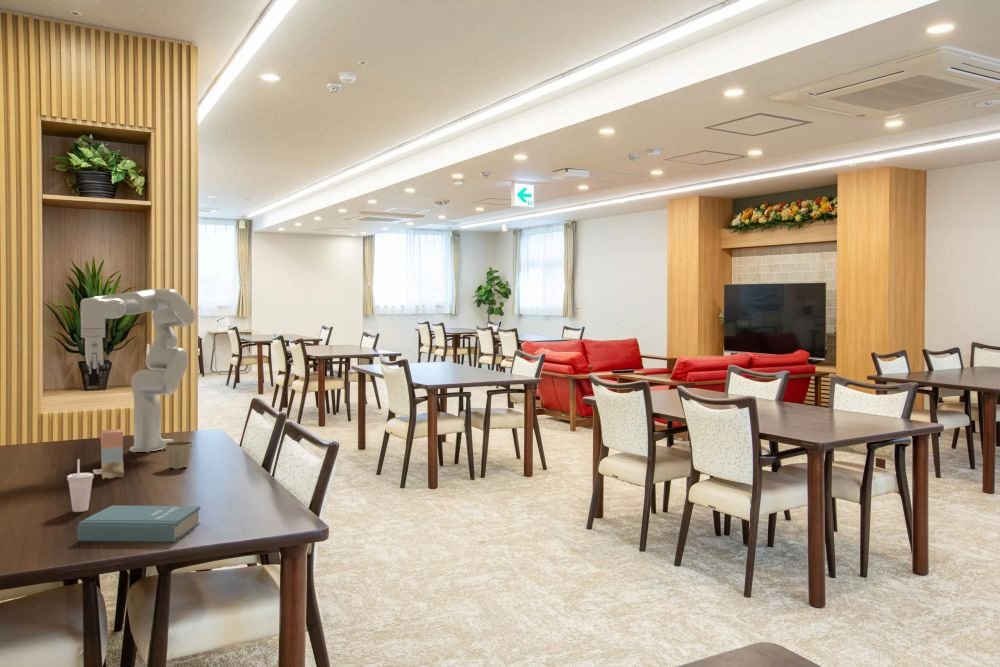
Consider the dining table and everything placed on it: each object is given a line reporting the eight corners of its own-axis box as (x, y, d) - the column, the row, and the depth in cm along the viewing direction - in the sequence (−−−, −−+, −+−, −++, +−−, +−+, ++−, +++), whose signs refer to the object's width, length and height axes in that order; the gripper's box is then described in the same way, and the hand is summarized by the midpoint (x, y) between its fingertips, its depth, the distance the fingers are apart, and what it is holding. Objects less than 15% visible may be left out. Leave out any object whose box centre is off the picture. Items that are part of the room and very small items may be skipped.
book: (200, 525, 190) (200, 506, 190) (173, 544, 174) (173, 524, 174) (112, 524, 189) (112, 505, 189) (77, 543, 173) (77, 522, 173)
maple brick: (121, 473, 246) (121, 458, 246) (123, 477, 241) (123, 462, 241) (101, 475, 243) (101, 460, 243) (102, 478, 238) (102, 463, 238)
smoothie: (76, 506, 204) (76, 456, 204) (98, 507, 204) (98, 457, 203) (61, 513, 198) (61, 461, 197) (84, 513, 197) (85, 461, 197)
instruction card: (122, 468, 254) (122, 466, 254) (123, 472, 249) (124, 470, 248) (92, 470, 250) (92, 469, 250) (93, 474, 244) (93, 473, 244)
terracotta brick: (121, 444, 246) (121, 429, 246) (122, 446, 241) (122, 431, 241) (100, 445, 243) (101, 430, 243) (101, 448, 238) (102, 433, 238)
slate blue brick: (121, 458, 246) (121, 444, 246) (122, 462, 241) (122, 446, 241) (101, 460, 243) (101, 445, 243) (102, 463, 238) (102, 448, 238)
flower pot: (168, 471, 250) (168, 446, 250) (160, 467, 257) (160, 442, 257) (196, 468, 256) (196, 443, 256) (187, 463, 264) (187, 440, 263)
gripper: (107, 334, 253) (107, 386, 254) (103, 332, 266) (104, 382, 267) (82, 334, 249) (83, 388, 250) (79, 332, 262) (80, 383, 263)
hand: (93, 385), depth 258 cm, fingers closed
